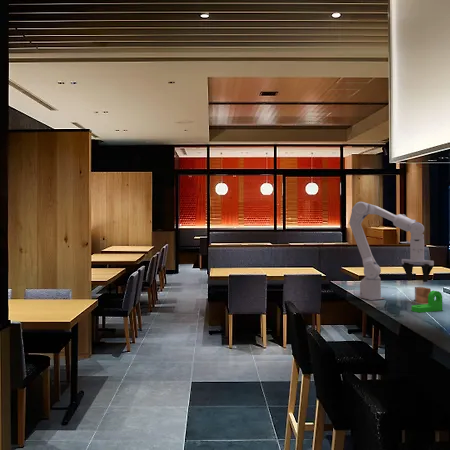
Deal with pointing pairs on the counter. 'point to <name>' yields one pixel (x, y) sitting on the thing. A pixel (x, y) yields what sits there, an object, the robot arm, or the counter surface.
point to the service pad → (418, 303)
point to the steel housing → (415, 291)
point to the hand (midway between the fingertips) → (417, 281)
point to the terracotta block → (422, 295)
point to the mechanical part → (430, 303)
